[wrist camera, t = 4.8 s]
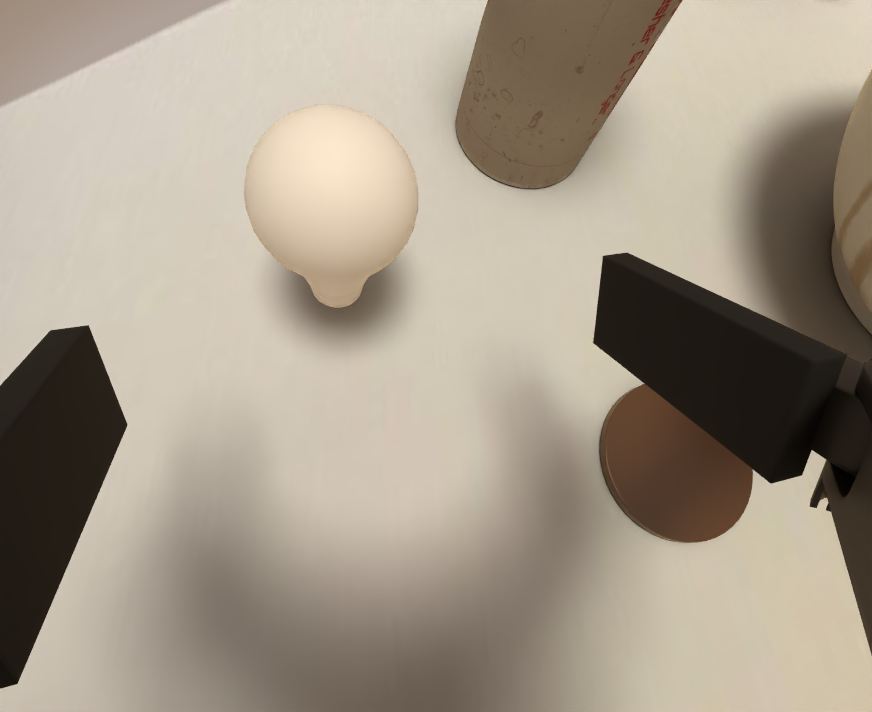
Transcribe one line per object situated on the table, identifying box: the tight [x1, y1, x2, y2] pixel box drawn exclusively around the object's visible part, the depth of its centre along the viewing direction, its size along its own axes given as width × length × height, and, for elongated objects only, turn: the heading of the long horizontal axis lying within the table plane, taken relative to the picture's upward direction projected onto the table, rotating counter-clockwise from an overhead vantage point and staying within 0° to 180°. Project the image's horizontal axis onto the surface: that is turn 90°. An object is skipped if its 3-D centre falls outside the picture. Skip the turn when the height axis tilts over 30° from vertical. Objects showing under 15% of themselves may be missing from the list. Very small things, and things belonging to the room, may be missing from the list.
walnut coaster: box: [600, 384, 753, 542], centre depth 26 cm, size 8×8×1 cm
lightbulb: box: [244, 105, 418, 308], centre depth 21 cm, size 6×6×11 cm
